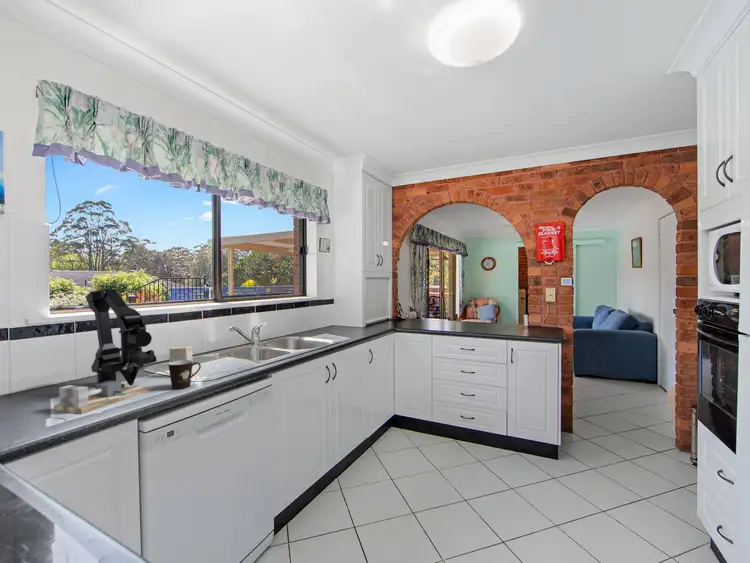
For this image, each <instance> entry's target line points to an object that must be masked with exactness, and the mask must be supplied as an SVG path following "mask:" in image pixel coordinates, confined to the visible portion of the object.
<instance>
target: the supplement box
mask: <svg viewBox="0 0 750 563" xmlns="http://www.w3.org/2000/svg"><path fill="white" fill-rule="evenodd" d="M168 350H169V353H168V354H169V363H170V362H174V361H180V360H192V361H193V363H194V360H193V346H189V345H187V346H182V345H181V346H173V347H169V348H168ZM193 363H192V364H193ZM193 374H194V365H193V366H192V373H191V375H193Z"/></svg>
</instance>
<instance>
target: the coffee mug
mask: <svg viewBox="0 0 750 563" xmlns="http://www.w3.org/2000/svg"><path fill="white" fill-rule="evenodd" d="M192 363H193V364H192ZM194 365H198V367H199V368H198V369H197V370H196V371H195V372H193V375H192V376H191V373H192V366H193V367H194ZM201 368H202V366H201V363H200V362H194V360H193V361H192V360H180V361H174V362H170V361H169V363H168V371H169V377H170V384H171V389H172V390H176V391H179V390H185V388H186V389H188V387H189V388H191V382H192V378H194V377H195V375H197V373H198V372H199V371H200V370H201Z"/></svg>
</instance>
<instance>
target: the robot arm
mask: <svg viewBox="0 0 750 563" xmlns="http://www.w3.org/2000/svg"><path fill="white" fill-rule="evenodd" d="M85 296H86V297H85V300H86V302H87V305H88V308H89V309H90V310H91V311H92V312H93V313H94V320H95V326H96V332H97V339H98V340H97V341H98V349H97V350H96V353H95V358H94V361H93V363H92V365H91V366H90V367H91V372H93V373H96V382H97V383H96V384H98V383H102V382H105V381H109V380H110V381H117V372H120V374H121V375H122V376H123V378H124V379H125V381H126V383H127V385H132V386H134V383H135V380H136V378H137V376H138V372H139V371H140V370H141V369H142V368H144V367H145V365H149V364H153V363H156V362H157V356H156V355H155V350H153V349H149V350H147V351H143V348H144V347H147V346H149V345H150V344H151V342H152V341H153V340H152V339H153V338H152V335H151V333H150V332H148V331H147V325H146V323H145V321H144V318H143V316H142V315H141V314H140V312H138V311H137V310H136V309H134V308H131V307H130V306H128V304H127V303H126V302H125V300H124V299H123V298H122V296H120V294H119V291H118V289H117V288H103V289H101V290H91V291H89V292H88V293H87V294H86V295H85ZM110 309H111V310H112V312H113V313H114V314H115V317H116V318H115V323H116V325H117V326H118V328H119V331H118V333H119V334H120V348H119V347H117V346H116V345H114V340H113V334H112V333H113V332H112V326H111V319H110V311H109V310H110ZM96 384H93V387H95V388H96Z"/></svg>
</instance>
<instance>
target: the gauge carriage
mask: <svg viewBox="0 0 750 563" xmlns="http://www.w3.org/2000/svg"><path fill="white" fill-rule="evenodd" d="M121 384H122V381H119V380H116V381H110V380H109V381H105V382H102V383H98V384H97V383H95V385H96V387H95V389H94V390H90V391H89V390H88V397H89V396H92V395H95V394H96V395H99V396H111V395H114V394H118V393H122V391H121Z"/></svg>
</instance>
